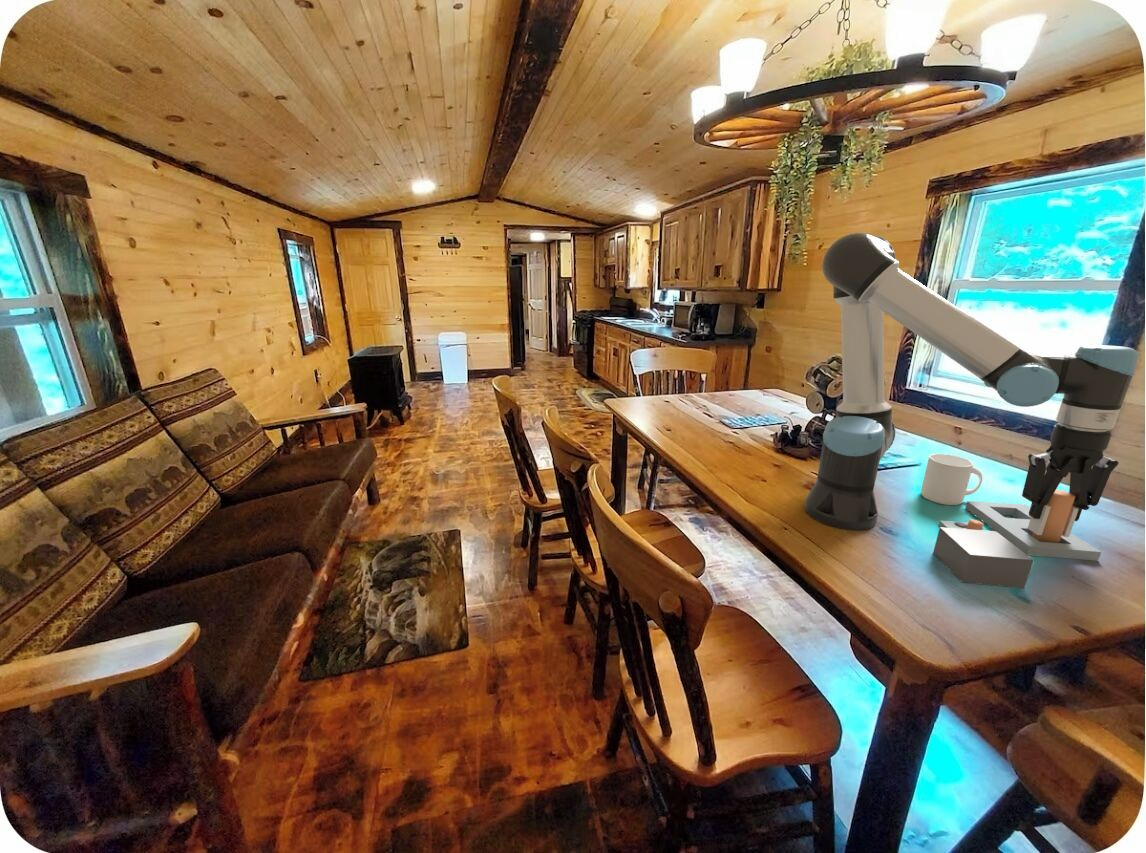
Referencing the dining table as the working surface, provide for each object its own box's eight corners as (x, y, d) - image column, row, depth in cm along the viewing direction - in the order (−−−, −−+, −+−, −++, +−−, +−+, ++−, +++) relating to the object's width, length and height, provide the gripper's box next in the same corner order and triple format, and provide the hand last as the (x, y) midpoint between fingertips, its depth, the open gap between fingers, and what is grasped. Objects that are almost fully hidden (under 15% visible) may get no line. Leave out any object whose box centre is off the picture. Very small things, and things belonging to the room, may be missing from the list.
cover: (962, 582, 83) (970, 554, 81) (933, 552, 92) (939, 527, 90) (1024, 588, 81) (1033, 560, 79) (988, 557, 90) (996, 531, 88)
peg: (1039, 549, 92) (1057, 497, 88) (1025, 538, 96) (1041, 488, 92) (1062, 550, 91) (1081, 498, 88) (1047, 540, 95) (1064, 489, 91)
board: (957, 540, 96) (961, 524, 94) (938, 524, 102) (942, 508, 101) (994, 543, 94) (999, 527, 93) (973, 526, 101) (978, 511, 99)
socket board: (1026, 554, 90) (1029, 546, 90) (965, 508, 109) (967, 501, 108) (1097, 560, 88) (1101, 551, 87) (1022, 512, 106) (1025, 504, 106)
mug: (986, 509, 108) (998, 469, 105) (929, 504, 111) (939, 465, 108) (966, 493, 116) (977, 455, 113) (914, 489, 119) (922, 452, 116)
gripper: (1046, 430, 84) (1013, 538, 91) (1157, 434, 80) (1114, 546, 87) (1017, 419, 91) (988, 520, 98) (1118, 422, 87) (1081, 526, 94)
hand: (1047, 532), depth 93 cm, fingers closed on peg, 4 cm apart
